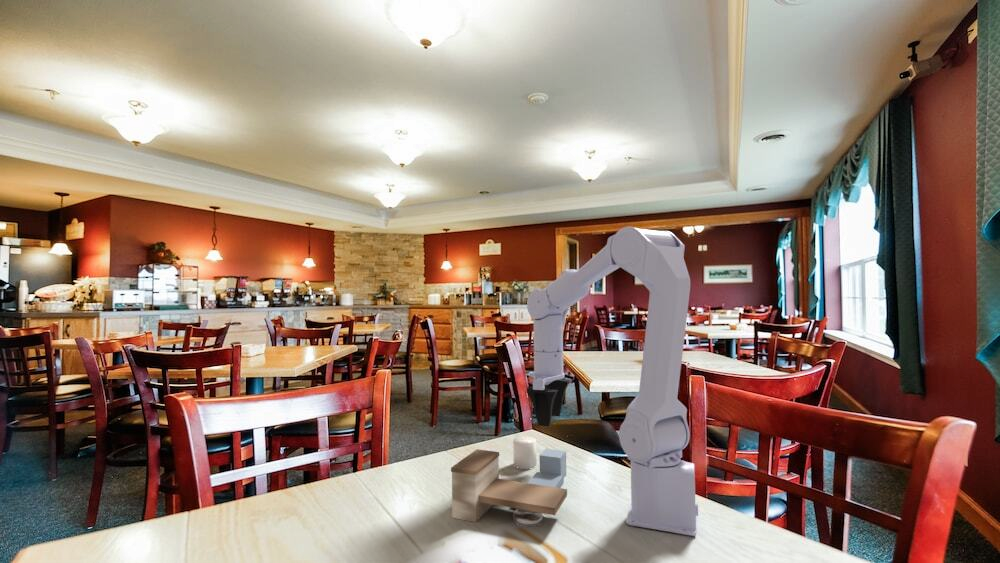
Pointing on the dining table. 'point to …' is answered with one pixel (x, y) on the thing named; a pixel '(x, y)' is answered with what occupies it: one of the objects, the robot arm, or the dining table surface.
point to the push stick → (551, 469)
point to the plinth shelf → (496, 489)
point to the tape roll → (527, 518)
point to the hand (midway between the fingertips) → (549, 420)
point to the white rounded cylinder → (524, 452)
